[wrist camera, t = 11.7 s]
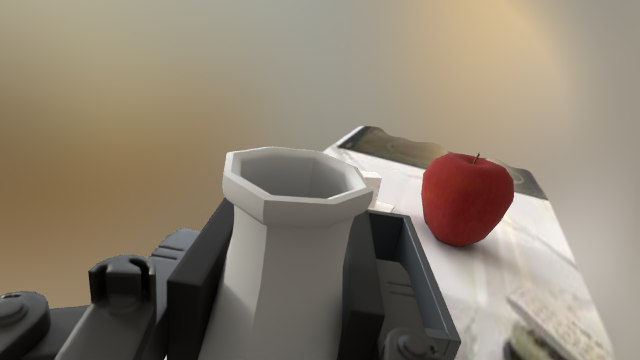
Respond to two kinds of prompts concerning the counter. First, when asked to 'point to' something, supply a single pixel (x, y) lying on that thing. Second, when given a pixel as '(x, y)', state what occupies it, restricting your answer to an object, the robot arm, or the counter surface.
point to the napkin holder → (376, 192)
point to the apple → (465, 197)
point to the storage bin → (415, 275)
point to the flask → (284, 255)
